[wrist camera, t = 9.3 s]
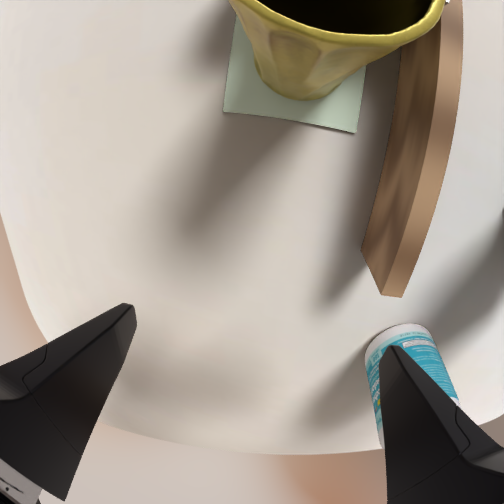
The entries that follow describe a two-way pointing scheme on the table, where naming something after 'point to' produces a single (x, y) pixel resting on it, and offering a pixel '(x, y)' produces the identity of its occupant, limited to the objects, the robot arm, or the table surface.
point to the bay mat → (274, 105)
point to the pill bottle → (419, 348)
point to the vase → (327, 38)
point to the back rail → (416, 151)
